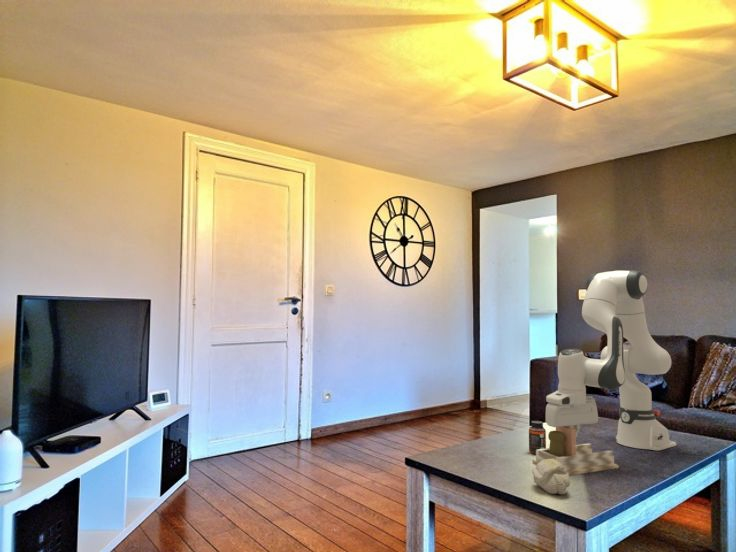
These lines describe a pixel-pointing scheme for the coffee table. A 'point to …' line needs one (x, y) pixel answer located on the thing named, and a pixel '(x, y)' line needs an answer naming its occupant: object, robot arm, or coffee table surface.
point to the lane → (581, 459)
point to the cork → (556, 443)
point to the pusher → (568, 440)
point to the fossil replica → (551, 476)
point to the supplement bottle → (537, 437)
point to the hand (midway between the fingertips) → (572, 438)
